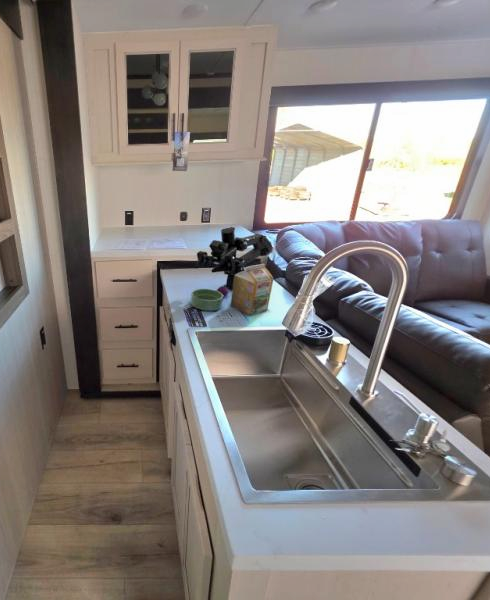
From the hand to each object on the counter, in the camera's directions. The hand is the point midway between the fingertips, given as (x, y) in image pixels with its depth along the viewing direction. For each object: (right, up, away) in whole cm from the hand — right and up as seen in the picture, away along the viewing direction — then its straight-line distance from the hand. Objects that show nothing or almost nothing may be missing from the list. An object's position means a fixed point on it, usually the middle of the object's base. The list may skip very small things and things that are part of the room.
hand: (203, 269), depth 136 cm
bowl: (+1, -15, +1) cm, 16 cm away
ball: (+11, -9, +8) cm, 16 cm away
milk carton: (+19, -17, -2) cm, 25 cm away
